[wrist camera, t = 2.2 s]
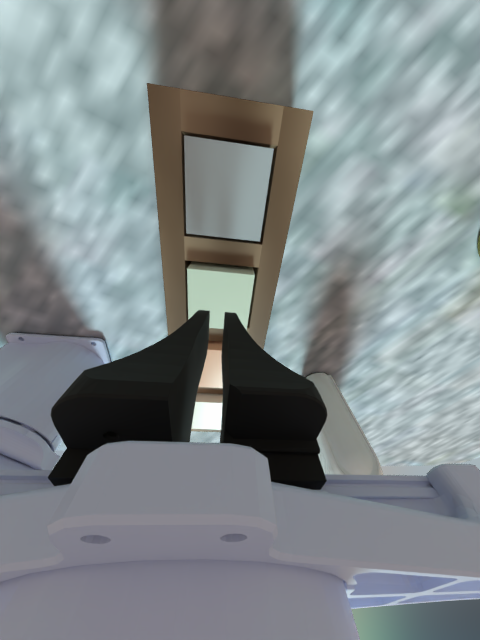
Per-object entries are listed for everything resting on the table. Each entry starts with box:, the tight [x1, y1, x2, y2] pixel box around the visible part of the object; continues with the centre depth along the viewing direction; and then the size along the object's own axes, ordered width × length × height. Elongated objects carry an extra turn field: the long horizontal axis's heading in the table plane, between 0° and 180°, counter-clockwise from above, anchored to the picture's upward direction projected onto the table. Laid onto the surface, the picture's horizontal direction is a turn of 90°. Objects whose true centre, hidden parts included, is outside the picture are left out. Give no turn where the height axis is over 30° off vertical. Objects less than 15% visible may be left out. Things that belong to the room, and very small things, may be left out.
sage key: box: [187, 261, 255, 330], centre depth 15 cm, size 4×4×2 cm
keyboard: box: [147, 83, 313, 432], centre depth 19 cm, size 8×28×4 cm, turn 174°
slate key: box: [184, 135, 274, 242], centre depth 12 cm, size 4×4×2 cm
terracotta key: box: [199, 341, 223, 388], centre depth 18 cm, size 4×4×2 cm
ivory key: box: [191, 393, 223, 430], centre depth 22 cm, size 4×4×2 cm
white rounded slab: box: [306, 373, 383, 475], centre depth 23 cm, size 10×4×12 cm, turn 14°
